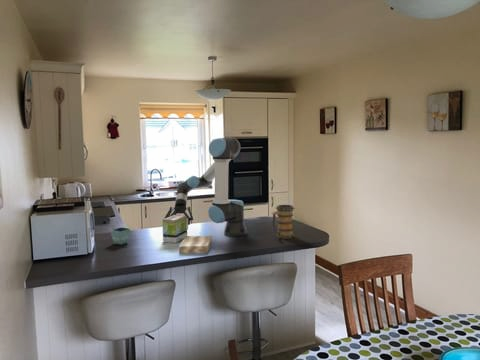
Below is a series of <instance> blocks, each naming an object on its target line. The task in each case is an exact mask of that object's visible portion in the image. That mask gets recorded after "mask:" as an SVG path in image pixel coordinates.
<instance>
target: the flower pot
mask: <svg viewBox="0 0 480 360" xmlns="http://www.w3.org/2000/svg"><path fill="white" fill-rule="evenodd" d="M110 234H111V238H112V241H113V243H114V244H115V245H116V244H117V245H124V244H127V243H128V241H129V240H130V236H131V228H127V227H122V226H121V227H116V228H114V229H111V230H110Z"/></svg>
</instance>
